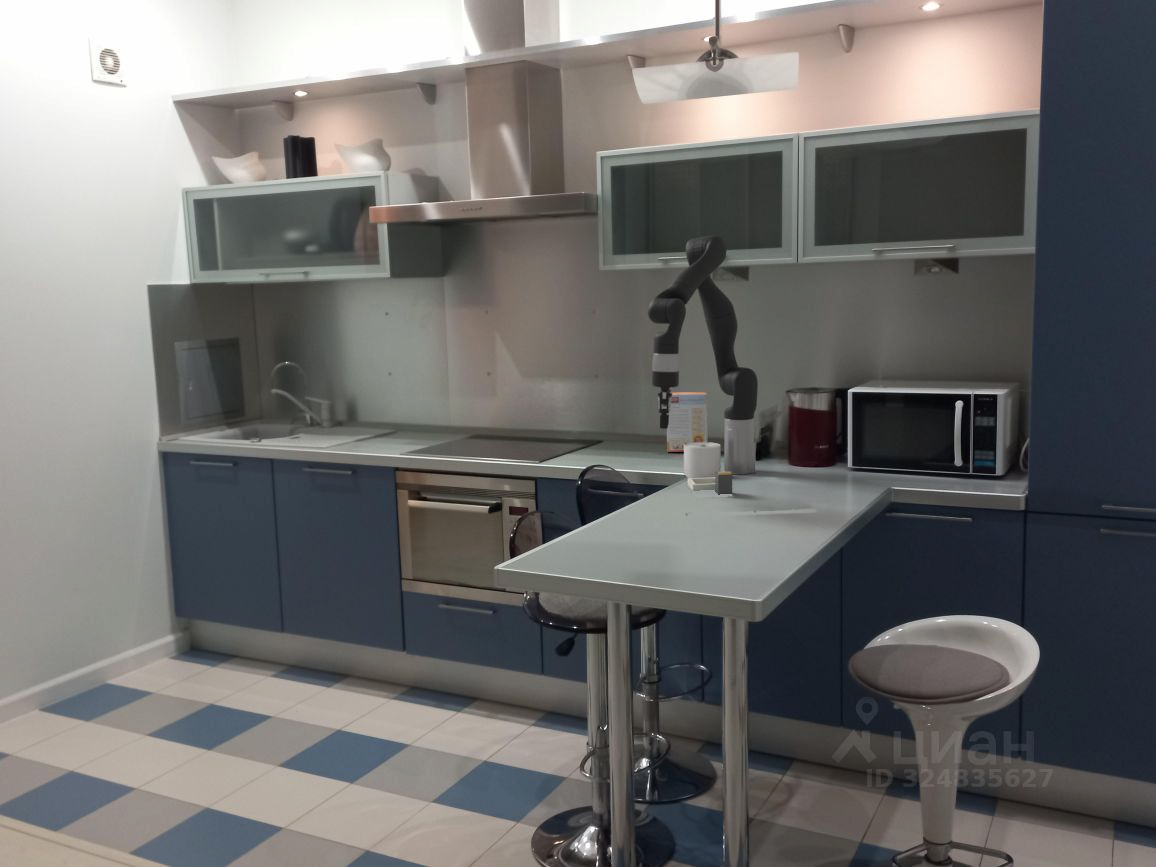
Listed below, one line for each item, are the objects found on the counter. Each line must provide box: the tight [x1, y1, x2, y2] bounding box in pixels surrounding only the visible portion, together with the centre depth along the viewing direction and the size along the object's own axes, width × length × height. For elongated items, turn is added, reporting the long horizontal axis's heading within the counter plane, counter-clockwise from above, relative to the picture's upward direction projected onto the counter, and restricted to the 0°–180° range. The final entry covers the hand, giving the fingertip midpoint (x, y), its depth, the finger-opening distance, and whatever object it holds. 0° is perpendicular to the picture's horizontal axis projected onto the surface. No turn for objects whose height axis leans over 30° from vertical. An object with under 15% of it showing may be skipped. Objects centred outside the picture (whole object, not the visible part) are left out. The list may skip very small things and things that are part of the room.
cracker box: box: [666, 391, 709, 452], centre depth 361 cm, size 14×6×21 cm, turn 80°
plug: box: [715, 471, 733, 495], centre depth 292 cm, size 4×4×7 cm
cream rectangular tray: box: [687, 477, 715, 491], centre depth 297 cm, size 11×18×3 cm, turn 4°
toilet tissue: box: [683, 441, 722, 479], centre depth 320 cm, size 11×12×10 cm
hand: (664, 427), depth 292 cm, fingers open, 8 cm apart
